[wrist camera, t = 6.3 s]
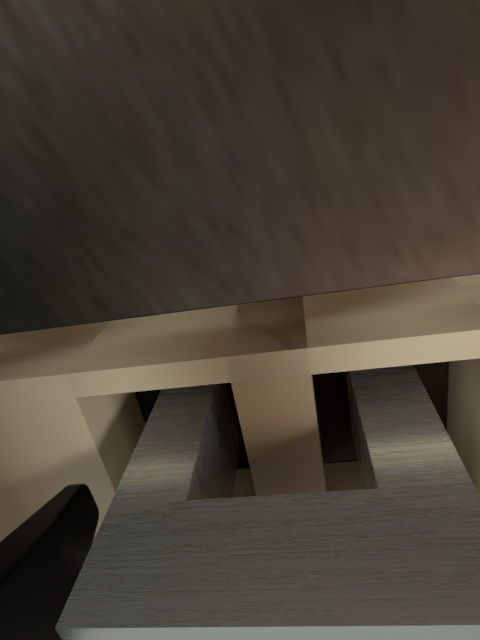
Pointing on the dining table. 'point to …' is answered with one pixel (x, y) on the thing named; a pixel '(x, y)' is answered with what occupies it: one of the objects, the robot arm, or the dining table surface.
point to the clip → (286, 533)
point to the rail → (225, 367)
